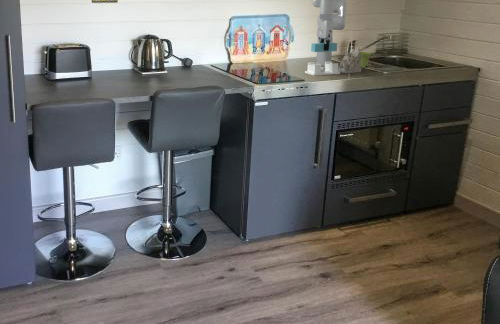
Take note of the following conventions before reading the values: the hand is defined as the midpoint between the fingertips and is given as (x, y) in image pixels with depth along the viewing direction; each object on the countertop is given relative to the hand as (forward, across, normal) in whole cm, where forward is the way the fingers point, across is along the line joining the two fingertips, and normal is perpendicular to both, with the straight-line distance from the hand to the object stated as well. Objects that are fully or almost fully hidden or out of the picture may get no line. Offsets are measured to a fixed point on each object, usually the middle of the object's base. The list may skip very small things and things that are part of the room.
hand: (324, 49), depth 334 cm
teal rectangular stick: (+1, 0, 0) cm, 1 cm away
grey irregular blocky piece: (+14, -4, +21) cm, 26 cm away
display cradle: (+14, 0, 0) cm, 14 cm away
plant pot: (+14, -13, +38) cm, 43 cm away
